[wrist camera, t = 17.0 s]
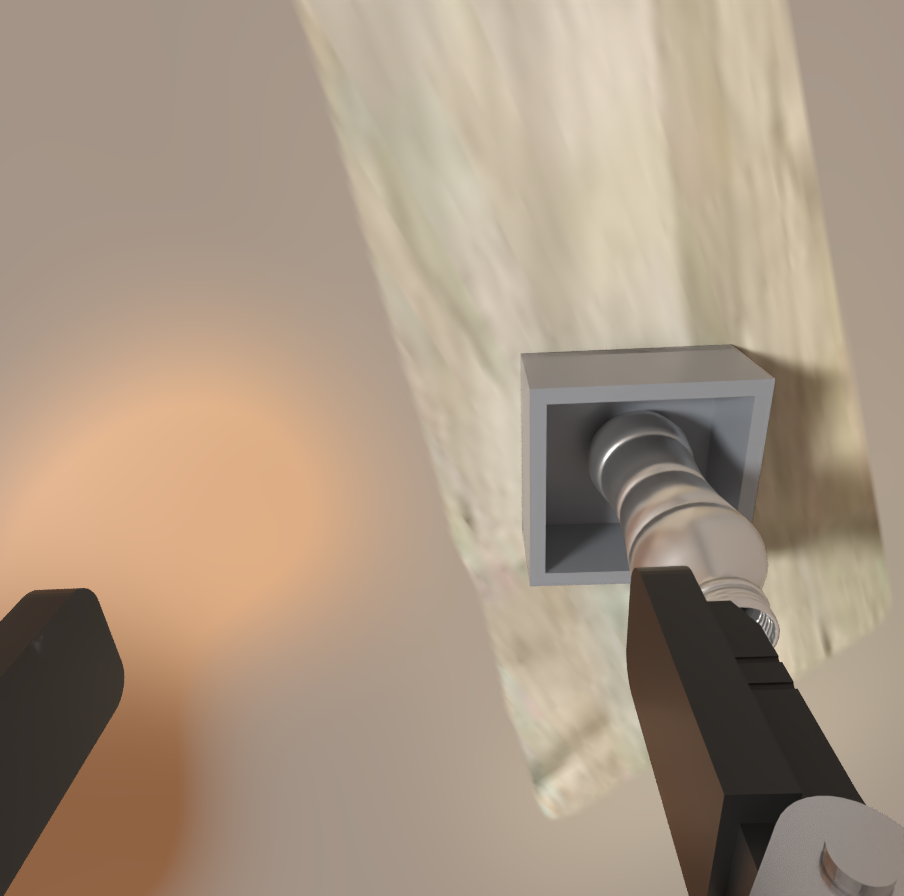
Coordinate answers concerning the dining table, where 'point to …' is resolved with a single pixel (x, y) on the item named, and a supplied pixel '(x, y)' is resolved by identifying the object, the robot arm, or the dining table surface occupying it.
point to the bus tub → (608, 395)
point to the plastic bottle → (678, 512)
